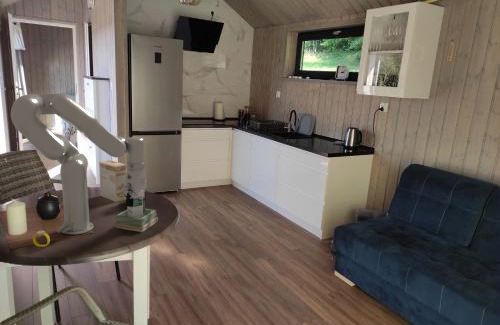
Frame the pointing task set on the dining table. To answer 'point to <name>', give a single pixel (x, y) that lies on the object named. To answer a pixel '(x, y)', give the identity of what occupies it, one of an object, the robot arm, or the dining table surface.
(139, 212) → the syrup box
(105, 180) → the coffeecake box
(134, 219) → the socket stand
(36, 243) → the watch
